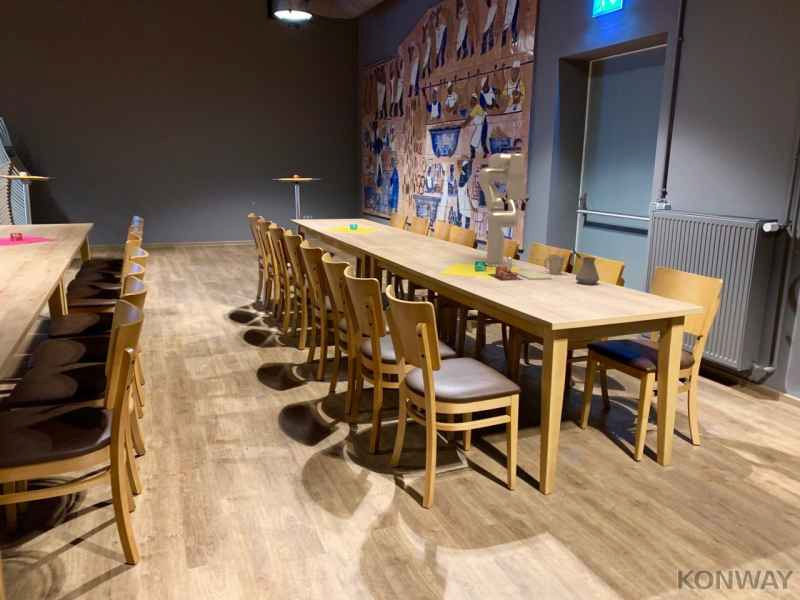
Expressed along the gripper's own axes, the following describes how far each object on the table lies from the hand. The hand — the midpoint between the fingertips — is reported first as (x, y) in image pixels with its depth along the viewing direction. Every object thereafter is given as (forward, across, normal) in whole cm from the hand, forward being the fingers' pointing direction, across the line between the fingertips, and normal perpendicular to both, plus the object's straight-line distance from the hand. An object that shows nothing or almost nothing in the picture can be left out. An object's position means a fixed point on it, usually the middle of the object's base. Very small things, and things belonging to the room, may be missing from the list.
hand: (514, 210), depth 329 cm
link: (+33, +9, +12) cm, 37 cm away
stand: (+34, +9, +12) cm, 37 cm away
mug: (+34, -24, 0) cm, 42 cm away
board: (+34, -6, +12) cm, 37 cm away
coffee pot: (+35, -28, +25) cm, 51 cm away
